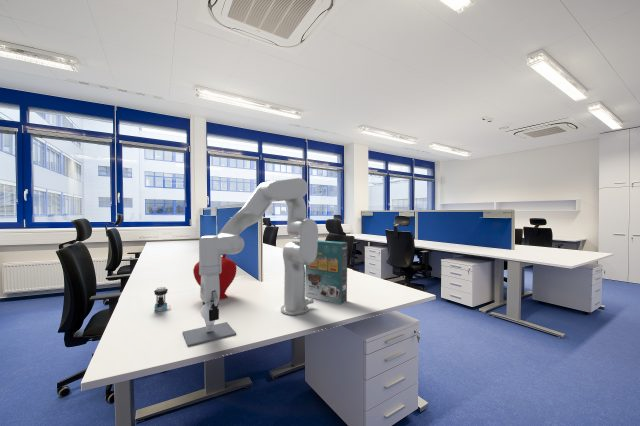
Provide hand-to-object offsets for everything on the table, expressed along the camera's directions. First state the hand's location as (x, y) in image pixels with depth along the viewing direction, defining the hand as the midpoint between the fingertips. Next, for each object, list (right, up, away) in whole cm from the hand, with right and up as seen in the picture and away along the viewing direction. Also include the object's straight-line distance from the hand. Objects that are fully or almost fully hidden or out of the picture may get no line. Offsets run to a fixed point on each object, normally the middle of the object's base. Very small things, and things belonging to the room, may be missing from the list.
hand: (210, 315), depth 99 cm
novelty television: (-14, -7, +42) cm, 45 cm away
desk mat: (0, -7, 0) cm, 7 cm away
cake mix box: (+43, -7, +42) cm, 61 cm away
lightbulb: (0, -6, 0) cm, 6 cm away
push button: (-31, -7, +23) cm, 40 cm away
